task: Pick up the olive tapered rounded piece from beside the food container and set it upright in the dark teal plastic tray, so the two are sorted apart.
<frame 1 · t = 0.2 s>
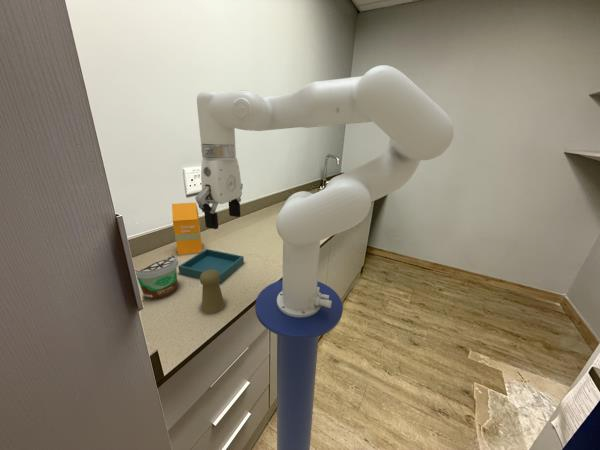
hand: (224, 221, 62), 25 cm above the worktop, tool pointing down, fingers open, 9 cm apart
food container: (166, 293, 74), on the worktop
orange juice: (190, 250, 101), on the worktop
olive tapered rounded piece: (213, 306, 69), on the worktop
tray: (213, 268, 88), on the worktop
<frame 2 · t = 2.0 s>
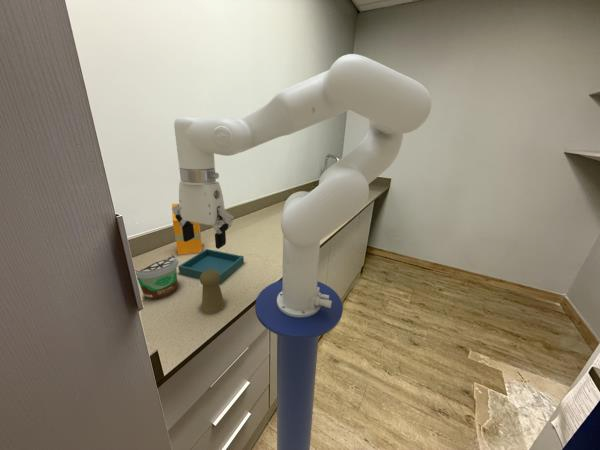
hand: (204, 243, 62), 20 cm above the worktop, tool pointing down, fingers open, 9 cm apart
nothing on the worktop moved.
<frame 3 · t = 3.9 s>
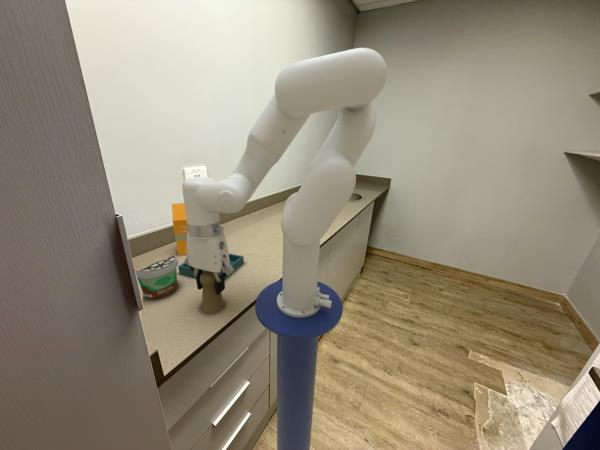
hand: (211, 288, 67), 6 cm above the worktop, tool pointing down, fingers closed on olive tapered rounded piece, 5 cm apart
olive tapered rounded piece: (213, 306, 69), on the worktop, touching gripper
everything else where it was.
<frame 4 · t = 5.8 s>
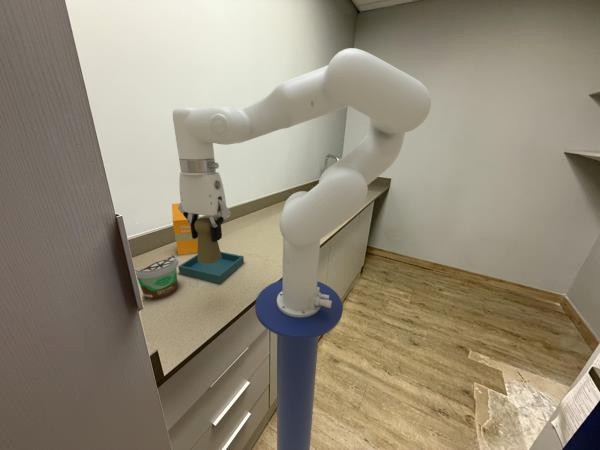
hand: (207, 237, 62), 21 cm above the worktop, tool pointing down, fingers closed on olive tapered rounded piece, 5 cm apart
olive tapered rounded piece: (209, 258, 64), point 15 cm above the worktop, touching gripper
everything else where it was.
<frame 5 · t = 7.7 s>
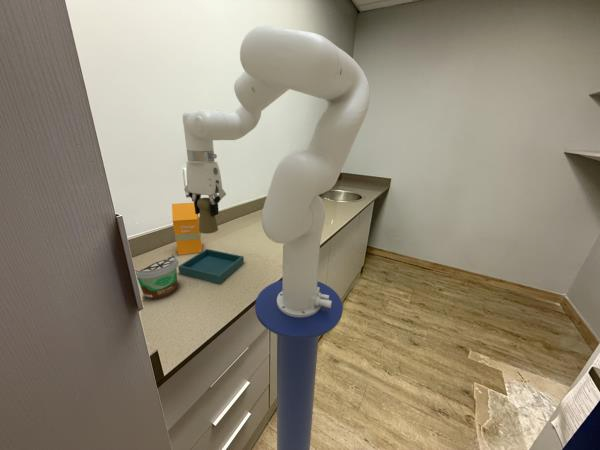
hand: (207, 213, 79), 21 cm above the worktop, tool pointing down, fingers closed on olive tapered rounded piece, 5 cm apart
olive tapered rounded piece: (208, 230, 81), point 15 cm above the worktop, touching gripper
everything else where it was.
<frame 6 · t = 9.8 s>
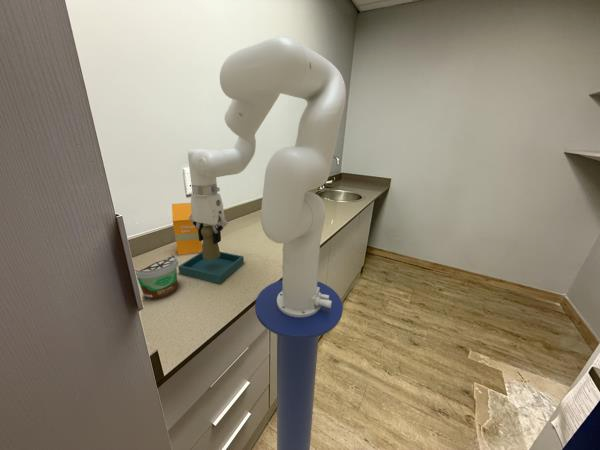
hand: (210, 240, 84), 11 cm above the worktop, tool pointing down, fingers closed on olive tapered rounded piece, 5 cm apart
olive tapered rounded piece: (211, 256, 86), point 5 cm above the worktop, touching gripper
everything else where it was.
when the fingers open (6 cm above the worktop, at t = 11.5 s): olive tapered rounded piece stays where it is, resting on tray.
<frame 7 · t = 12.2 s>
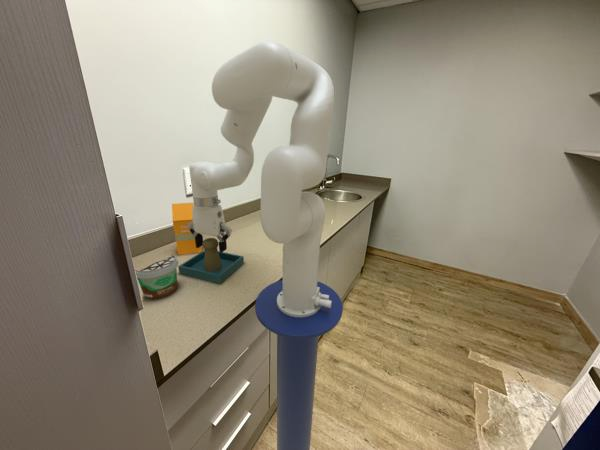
hand: (211, 248, 85), 8 cm above the worktop, tool pointing down, fingers open, 9 cm apart
olive tapered rounded piece: (213, 267, 87), resting on tray
everything else where it was.
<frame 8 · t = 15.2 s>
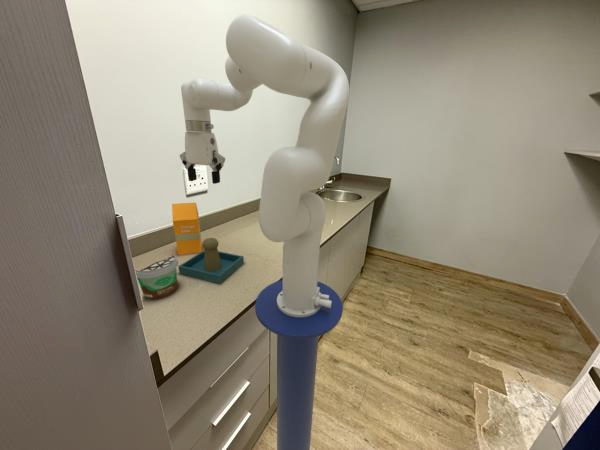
hand: (204, 181, 83), 30 cm above the worktop, tool pointing down, fingers open, 9 cm apart
nothing on the worktop moved.
at the end: olive tapered rounded piece inside the target area in the tray (0.1 cm from its centre), point 0.3 cm above the tray's base; olive tapered rounded piece tilted 0°; food container moved 0.2 cm from its start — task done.
